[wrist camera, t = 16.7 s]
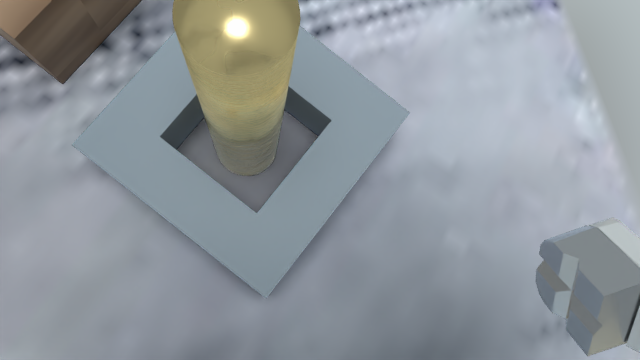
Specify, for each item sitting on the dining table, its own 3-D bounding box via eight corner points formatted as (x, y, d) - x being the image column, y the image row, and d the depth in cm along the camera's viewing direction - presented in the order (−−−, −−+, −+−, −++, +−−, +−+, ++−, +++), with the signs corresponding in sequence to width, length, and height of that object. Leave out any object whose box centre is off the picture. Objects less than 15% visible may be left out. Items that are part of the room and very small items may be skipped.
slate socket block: (96, 161, 29) (71, 145, 25) (233, 8, 31) (229, -29, 27) (264, 294, 29) (266, 298, 25) (390, 132, 31) (410, 112, 27)
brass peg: (203, 150, 30) (145, 21, 14) (242, 105, 30) (227, -69, 15) (251, 187, 30) (246, 100, 14) (289, 141, 30) (325, 8, 15)
